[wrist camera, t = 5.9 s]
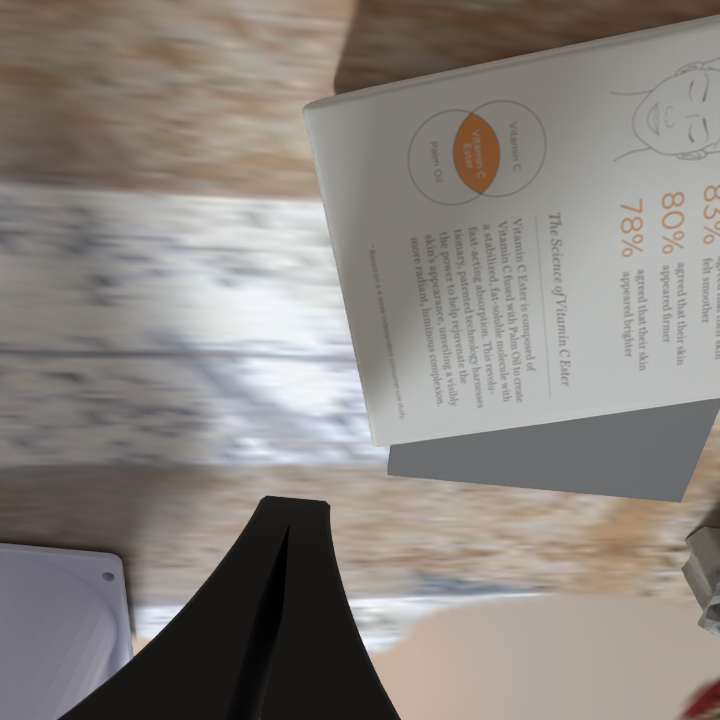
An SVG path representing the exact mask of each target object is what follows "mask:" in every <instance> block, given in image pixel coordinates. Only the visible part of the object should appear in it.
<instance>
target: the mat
mask: <svg viewBox="0 0 720 720" xmlns="http://www.w3.org/2000/svg"><path fill="white" fill-rule="evenodd" d="M719 408H720V398H715V399H708V400H701V401H694V402H688V403H681V404H675V405H668V406H661V407H654V408H647V409H640V410H633V411H627V412H620V413H614V414H607V415H600V416H593V417H586V418H579V419H572V420H566V421H559V422H552V423H545V424H538V425H531V426H523V427H515V428H508V429H501V430H495V431H488V432H480V433H472V434H465V435H458V436H451V437H444V438H438V439H430V440H423V441H416V442H409V443H403V444H394V445H391V447H390V455H389V462H388V475H393V476H403V477H414V478H425V479H435V480H446V481H456V482H467V483H478V484H488V485H499V486H510V487H520V488H531V489H542V490H552V491H563V492H574V493H584V494H595V495H605V496H616V497H627V498H637V499H648V500H659V501H669V502H680V503H681V501H682V498H683V496H684V493H685V491H686V488H687V486H688V484H689V481H690V479H691V476H692V474H693V471H694V469H695V467H696V464H697V462H698V459H699V457H700V454H701V452H702V450H703V447H704V445H705V442H706V440H707V437H708V435H709V433H710V430H711V428H712V425H713V423H714V420H715V418H716V416H717V413H718V411H719Z"/></svg>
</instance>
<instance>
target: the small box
mask: <svg viewBox="0 0 720 720" xmlns="http://www.w3.org/2000/svg"><path fill="white" fill-rule="evenodd" d="M303 116H304V120H305V124H306V128H307V132H308V137H309V141H310V145H311V150H312V154H313V159H314V164H315V168H316V173H317V178H318V182H319V187H320V192H321V196H322V201H323V206H324V211H325V215H326V220H327V225H328V229H329V234H330V238H331V243H332V248H333V252H334V257H335V262H336V266H337V271H338V275H339V280H340V285H341V289H342V294H343V299H344V304H345V309H346V314H347V318H348V323H349V328H350V333H351V338H352V343H353V348H354V352H355V357H356V362H357V367H358V371H359V376H360V381H361V385H362V390H363V395H364V400H365V405H366V410H367V415H368V421H369V426H370V432H371V437H372V442H373V445H374V446H376V447H382V446H387V445H394V444H403V443H409V442H416V441H423V440H430V439H438V438H444V437H451V436H458V435H465V434H472V433H480V432H488V431H495V430H501V429H508V428H515V427H523V426H531V425H538V424H545V423H552V422H559V421H566V420H572V419H579V418H586V417H593V416H600V415H607V414H614V413H620V412H627V411H633V410H640V409H647V408H654V407H661V406H668V405H675V404H681V403H688V402H694V401H701V400H708V399H715V398H720V14H718V15H713V16H708V17H703V18H698V19H694V20H689V21H684V22H679V23H674V24H669V25H664V26H660V27H655V28H650V29H645V30H640V31H635V32H631V33H626V34H621V35H616V36H611V37H606V38H601V39H597V40H592V41H587V42H582V43H577V44H572V45H568V46H563V47H558V48H553V49H548V50H543V51H539V52H534V53H529V54H525V55H520V56H515V57H510V58H506V59H501V60H496V61H491V62H487V63H482V64H477V65H472V66H468V67H463V68H458V69H453V70H449V71H444V72H439V73H434V74H430V75H425V76H420V77H415V78H411V79H406V80H401V81H396V82H392V83H387V84H382V85H377V86H373V87H368V88H364V89H360V90H356V91H351V92H347V93H343V94H338V95H334V96H331V97H327V98H323V99H320V100H317V101H314V102H311V103H309V104H307V105H305V107H304V108H303Z"/></svg>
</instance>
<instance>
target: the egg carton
mask: <svg viewBox="0 0 720 720" xmlns="http://www.w3.org/2000/svg"><path fill="white" fill-rule="evenodd" d="M685 541H686V544H687V545H688V547H689V549H690V553H691V555H690V558H689V560H688V562H687V563H686V564H685V566H684V567H683V568H682V569H681V570H682V572H683V574H684V576H685V579H686V580H687V582H688V584H689V586H690V588H691V589H692V591H693V593H694V595H695V597H696V599H697V601H698V603H699V604H700V606H701V608H702V610H703V611H704V612H703V614H702V616H701V618H700V620H699V621H698V625H699V626H701V627H702V628H704V629H706V630H707V631H709V632H710V633H712V634H713V635H718V636H720V529H717V528H716V529H713V528H710V527H706V526H705V527H703V528H701V529H699V530H698V531H697V532H696V533H694V534H693V535H692V536H690V537H688V539H686V540H685Z"/></svg>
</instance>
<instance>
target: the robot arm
mask: <svg viewBox="0 0 720 720" xmlns="http://www.w3.org/2000/svg"><path fill="white" fill-rule="evenodd" d="M110 573H111V574H110ZM0 720H401V719H400V717H399V715H398V714H397V712H396V710H395V708H394V706H393V704H392V702H391V700H390V699H389V697H388V695H387V693H386V691H385V690H384V688H383V686H382V684H381V682H380V680H379V677H378V675H377V673H376V671H375V669H374V667H373V665H372V663H371V660H370V658H369V656H368V653H367V651H366V649H365V646H364V644H363V642H362V639H361V637H360V634H359V632H358V629H357V626H356V624H355V621H354V618H353V615H352V613H351V610H350V607H349V604H348V601H347V598H346V594H345V591H344V588H343V584H342V581H341V577H340V573H339V569H338V565H337V561H336V557H335V552H334V547H333V541H332V535H331V527H330V505H329V504H328V503H327V502H326V501H318V500H308V499H297V498H286V497H276V496H265V497H264V498H262V499H261V500H260V502H259V504H258V506H257V508H256V510H255V512H254V514H253V515H252V517H251V519H250V520H249V522H248V524H247V525H246V527H245V528H244V530H243V531H242V533H241V534H240V536H239V537H238V539H237V540H236V542H235V543H234V545H233V546H232V547H231V549H230V550H229V551H228V553H227V554H226V556H225V557H224V558H223V560H222V561H221V562H220V564H219V565H218V567H217V568H216V569H215V570H214V572H213V573H212V574H211V575H210V577H209V578H208V579H207V580H206V581H205V583H204V584H203V585H202V586H201V588H200V589H199V590H198V591H197V592H196V594H195V595H194V596H193V597H192V598H191V600H190V601H189V602H188V603H187V604H186V605H185V606H184V607H183V609H182V610H181V611H180V612H179V613H178V614H177V615H176V616H175V617H174V618H173V619H172V620H171V621H170V622H169V623H168V625H167V626H166V627H165V628H164V629H163V630H162V631H161V632H160V633H159V634H158V635H157V636H156V637H155V638H154V639H153V640H152V641H150V642H149V643H148V644H147V645H146V646H145V647H144V648H143V649H142V650H141V651H140V652H139V653H138V654H137V655H136V656H133V648H132V639H131V631H130V623H129V614H128V606H127V598H126V589H125V581H124V573H123V564H122V561H121V559H120V558H119V557H118V556H116V555H115V554H111V553H103V552H92V551H81V550H70V549H60V548H49V547H38V546H28V545H17V544H6V543H0Z"/></svg>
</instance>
